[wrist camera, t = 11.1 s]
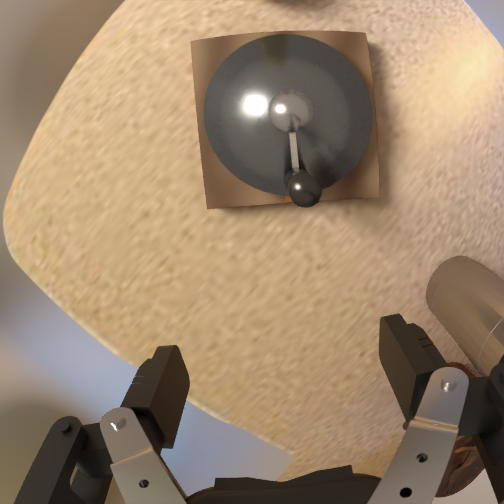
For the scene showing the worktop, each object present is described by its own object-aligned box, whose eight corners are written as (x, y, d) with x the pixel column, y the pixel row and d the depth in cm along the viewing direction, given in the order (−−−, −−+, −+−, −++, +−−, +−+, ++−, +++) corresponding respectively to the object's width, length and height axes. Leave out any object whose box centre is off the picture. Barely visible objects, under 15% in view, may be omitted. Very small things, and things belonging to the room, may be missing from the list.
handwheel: (199, 48, 27) (177, 20, 19) (357, 38, 26) (385, 9, 18) (216, 200, 32) (200, 221, 24) (372, 187, 31) (406, 204, 23)
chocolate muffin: (473, 323, 39) (534, 399, 22) (482, 392, 45) (520, 457, 28) (375, 380, 43) (406, 476, 26) (403, 437, 49) (426, 511, 32)
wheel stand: (359, 39, 28) (365, 32, 25) (371, 193, 34) (379, 198, 31) (195, 47, 29) (190, 40, 27) (211, 204, 35) (207, 209, 33)
